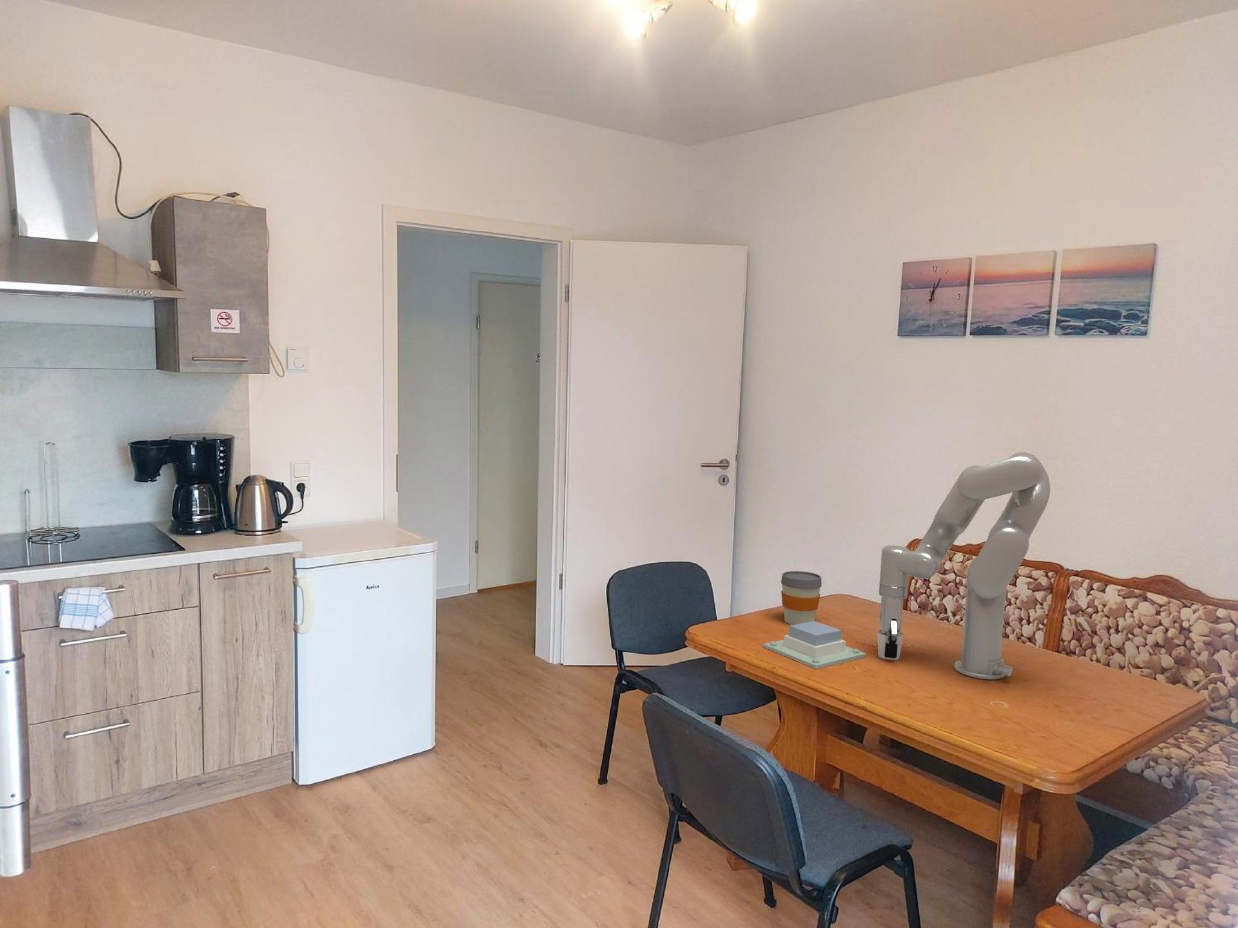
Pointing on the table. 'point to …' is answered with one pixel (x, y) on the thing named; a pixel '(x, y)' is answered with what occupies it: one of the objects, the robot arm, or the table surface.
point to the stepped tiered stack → (815, 645)
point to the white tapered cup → (883, 639)
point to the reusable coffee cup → (800, 596)
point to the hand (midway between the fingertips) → (888, 652)
